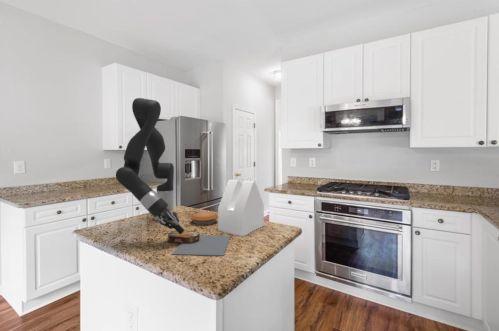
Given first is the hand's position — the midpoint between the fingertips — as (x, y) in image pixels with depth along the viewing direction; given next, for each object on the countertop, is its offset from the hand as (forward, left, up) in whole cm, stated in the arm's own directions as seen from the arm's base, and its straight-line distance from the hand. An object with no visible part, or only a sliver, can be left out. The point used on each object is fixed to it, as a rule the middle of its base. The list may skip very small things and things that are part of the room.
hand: (182, 232), depth 104 cm
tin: (-3, +1, -4) cm, 5 cm away
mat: (+9, 0, -5) cm, 11 cm away
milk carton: (+23, +24, -5) cm, 34 cm away
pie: (+1, +34, -5) cm, 34 cm away
